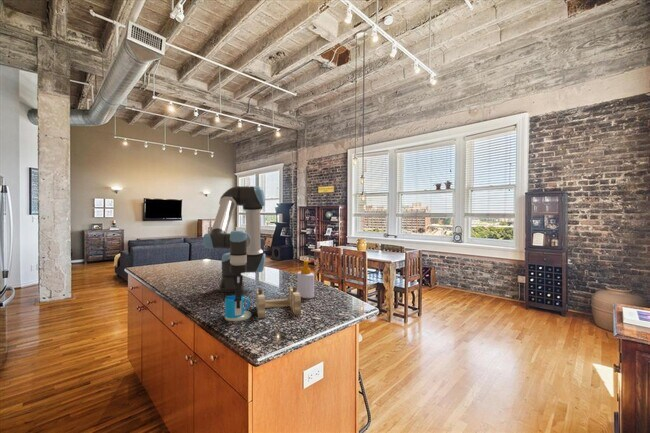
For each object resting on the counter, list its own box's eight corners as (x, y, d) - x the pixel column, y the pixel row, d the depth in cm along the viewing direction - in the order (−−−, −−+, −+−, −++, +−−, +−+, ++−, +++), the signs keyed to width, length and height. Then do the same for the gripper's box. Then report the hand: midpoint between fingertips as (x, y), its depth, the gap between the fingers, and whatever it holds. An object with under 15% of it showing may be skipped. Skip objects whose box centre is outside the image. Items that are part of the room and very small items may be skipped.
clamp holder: (256, 306, 152) (256, 285, 151) (294, 303, 157) (294, 283, 157) (258, 318, 136) (258, 294, 136) (300, 314, 141) (301, 291, 141)
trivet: (225, 313, 142) (225, 311, 142) (250, 311, 145) (250, 309, 145) (224, 322, 130) (224, 320, 130) (251, 319, 133) (251, 318, 133)
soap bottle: (317, 297, 169) (317, 262, 169) (305, 299, 164) (305, 263, 164) (305, 291, 180) (306, 259, 180) (294, 293, 175) (294, 260, 175)
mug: (229, 319, 131) (229, 301, 131) (222, 314, 138) (222, 297, 137) (253, 313, 139) (253, 296, 139) (245, 309, 146) (245, 292, 145)
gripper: (230, 260, 147) (230, 304, 147) (229, 268, 125) (229, 320, 125) (246, 259, 149) (245, 302, 149) (247, 268, 127) (247, 318, 128)
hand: (238, 311), depth 137 cm, fingers open, 10 cm apart
